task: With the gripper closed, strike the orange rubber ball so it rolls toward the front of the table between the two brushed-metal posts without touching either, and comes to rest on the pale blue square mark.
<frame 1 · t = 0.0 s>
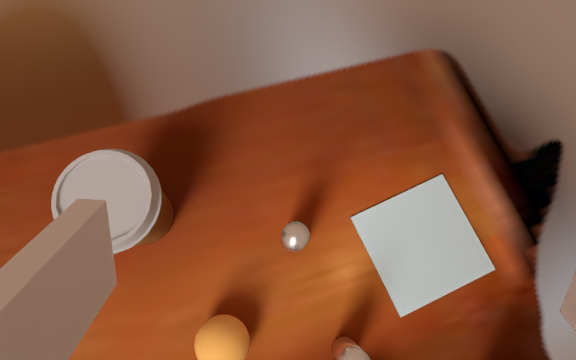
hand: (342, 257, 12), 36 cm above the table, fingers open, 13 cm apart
disposable coffee cup: (146, 216, 48), on the table
ball: (222, 343, 42), on the table
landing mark: (421, 243, 48), on the table
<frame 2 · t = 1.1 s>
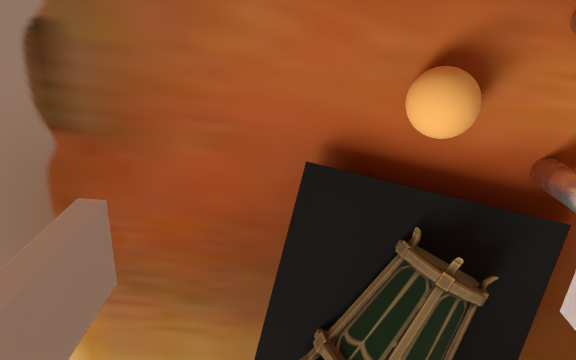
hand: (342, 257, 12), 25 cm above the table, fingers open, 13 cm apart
ball: (442, 102, 32), on the table
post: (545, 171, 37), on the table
lantern: (377, 306, 44), on the table
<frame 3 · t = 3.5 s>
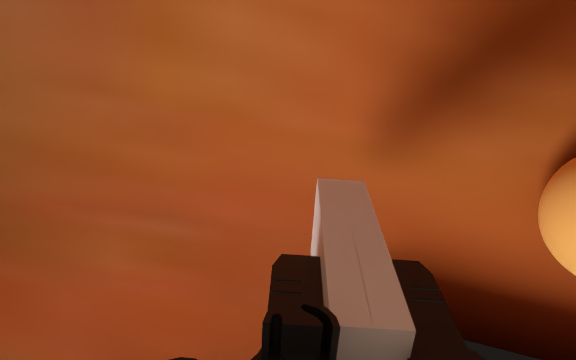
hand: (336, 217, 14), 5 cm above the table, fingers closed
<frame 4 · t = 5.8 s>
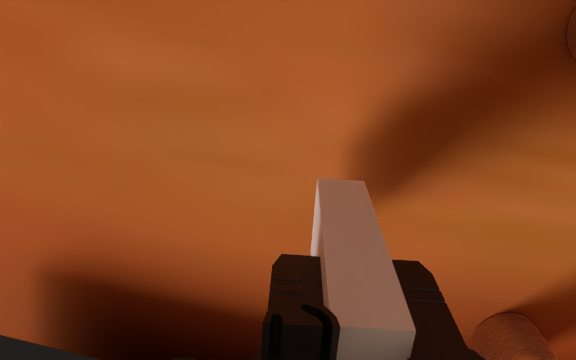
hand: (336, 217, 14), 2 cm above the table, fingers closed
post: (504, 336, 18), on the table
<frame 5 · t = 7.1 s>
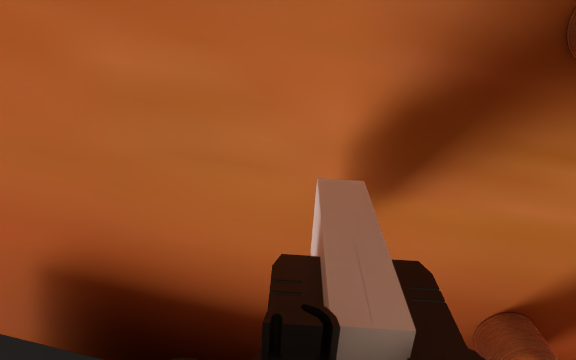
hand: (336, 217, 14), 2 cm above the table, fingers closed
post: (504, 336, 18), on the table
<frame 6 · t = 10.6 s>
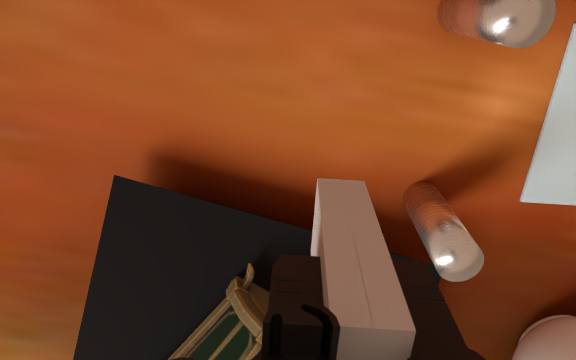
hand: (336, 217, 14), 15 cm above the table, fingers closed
lidded jar: (553, 340, 36), on the table
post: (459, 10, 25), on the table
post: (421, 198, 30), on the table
lantern: (237, 345, 37), on the table
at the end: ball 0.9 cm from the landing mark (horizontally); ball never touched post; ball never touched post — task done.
